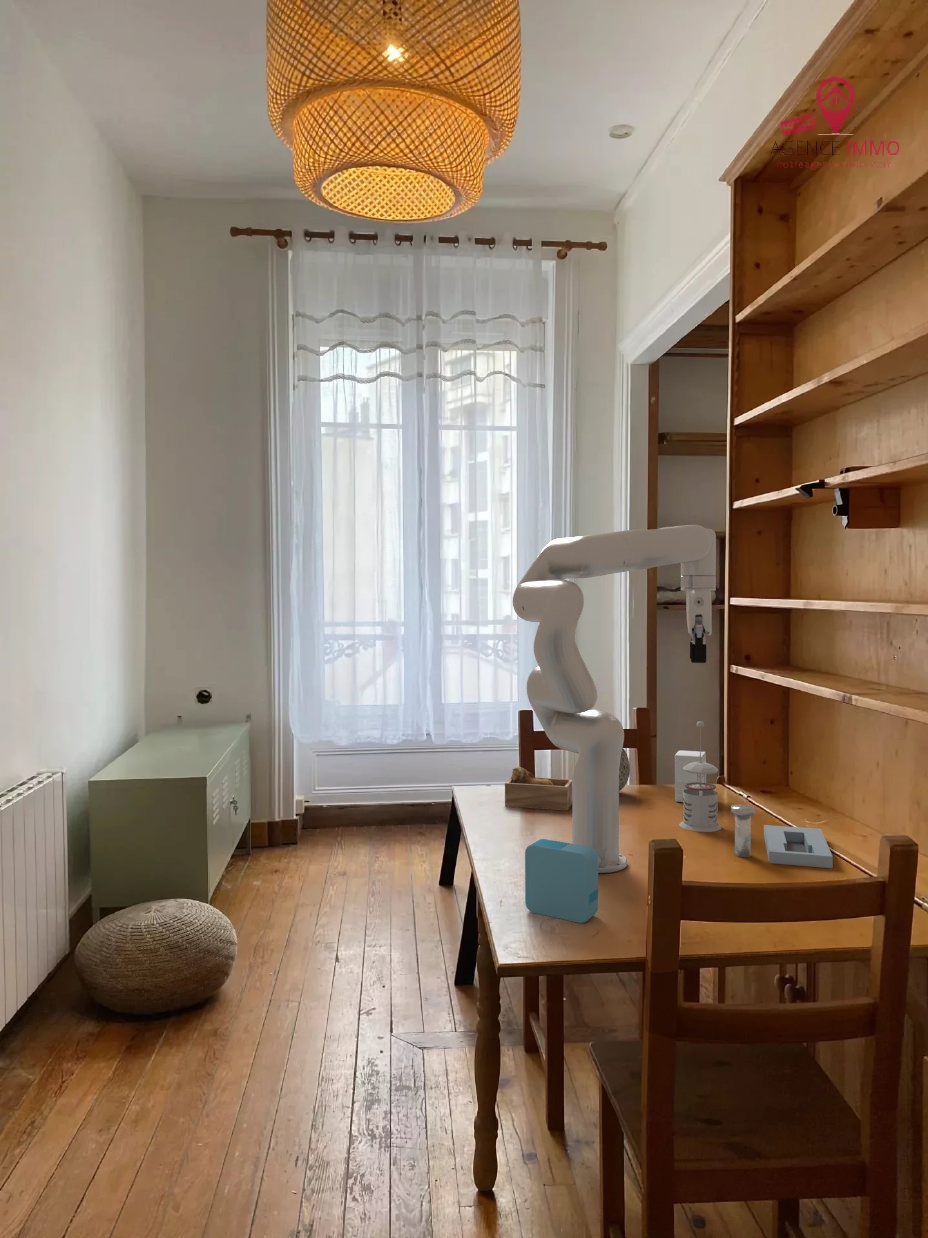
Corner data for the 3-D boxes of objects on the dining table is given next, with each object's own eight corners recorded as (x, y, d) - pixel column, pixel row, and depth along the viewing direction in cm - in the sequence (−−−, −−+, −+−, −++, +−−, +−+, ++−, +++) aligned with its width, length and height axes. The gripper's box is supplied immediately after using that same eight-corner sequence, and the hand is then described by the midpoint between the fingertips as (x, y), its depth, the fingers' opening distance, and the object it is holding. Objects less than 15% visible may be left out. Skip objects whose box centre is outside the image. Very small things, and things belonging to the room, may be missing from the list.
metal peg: (755, 859, 172) (755, 811, 172) (730, 857, 174) (731, 809, 173) (754, 852, 177) (754, 805, 177) (730, 850, 178) (730, 803, 178)
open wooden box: (567, 810, 212) (567, 787, 212) (504, 806, 217) (504, 783, 217) (573, 802, 221) (573, 779, 220) (513, 798, 225) (513, 776, 225)
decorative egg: (587, 788, 236) (586, 735, 235) (629, 789, 234) (629, 736, 234) (586, 798, 224) (586, 743, 224) (630, 799, 222) (630, 744, 222)
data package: (598, 916, 143) (598, 847, 143) (588, 925, 139) (588, 854, 139) (536, 903, 149) (536, 837, 149) (524, 911, 145) (524, 843, 145)
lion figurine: (507, 801, 220) (507, 768, 220) (515, 797, 225) (516, 764, 224) (559, 809, 213) (560, 774, 213) (566, 804, 218) (567, 770, 217)
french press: (678, 830, 194) (678, 723, 193) (680, 817, 205) (680, 716, 204) (722, 833, 191) (722, 725, 190) (721, 820, 202) (722, 717, 201)
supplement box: (706, 798, 224) (707, 751, 223) (702, 804, 217) (702, 756, 216) (679, 795, 227) (679, 749, 226) (674, 801, 220) (674, 754, 220)
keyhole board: (832, 868, 166) (832, 856, 166) (768, 863, 170) (769, 851, 170) (820, 839, 186) (820, 829, 186) (763, 835, 189) (763, 825, 189)
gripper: (717, 583, 176) (717, 664, 176) (713, 584, 192) (713, 658, 193) (681, 584, 177) (681, 663, 178) (680, 584, 194) (680, 657, 195)
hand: (697, 660), depth 185 cm, fingers open, 9 cm apart
